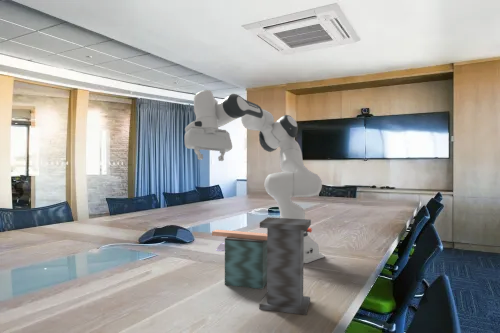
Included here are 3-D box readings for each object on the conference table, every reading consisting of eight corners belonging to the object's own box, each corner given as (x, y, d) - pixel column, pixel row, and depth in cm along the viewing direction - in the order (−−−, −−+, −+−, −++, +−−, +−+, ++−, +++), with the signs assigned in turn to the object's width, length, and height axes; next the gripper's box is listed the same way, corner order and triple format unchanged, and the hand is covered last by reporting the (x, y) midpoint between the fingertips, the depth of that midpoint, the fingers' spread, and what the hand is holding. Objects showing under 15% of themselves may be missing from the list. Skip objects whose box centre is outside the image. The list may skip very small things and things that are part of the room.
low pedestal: (224, 284, 125) (224, 238, 125) (233, 275, 135) (233, 232, 134) (262, 288, 121) (262, 241, 121) (269, 279, 131) (269, 235, 130)
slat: (211, 235, 130) (211, 231, 130) (216, 233, 133) (216, 229, 133) (279, 241, 120) (279, 237, 120) (282, 239, 124) (282, 234, 124)
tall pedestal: (259, 308, 105) (259, 222, 104) (267, 296, 115) (267, 217, 114) (306, 314, 101) (306, 225, 100) (310, 301, 111) (310, 219, 110)
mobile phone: (215, 249, 171) (220, 242, 186) (215, 251, 171) (220, 244, 186) (230, 250, 171) (234, 242, 186) (230, 252, 171) (234, 244, 186)
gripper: (224, 133, 151) (228, 163, 147) (181, 127, 138) (184, 161, 135) (232, 127, 146) (237, 159, 142) (188, 121, 134) (192, 155, 130)
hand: (211, 159), depth 138 cm, fingers open, 8 cm apart
